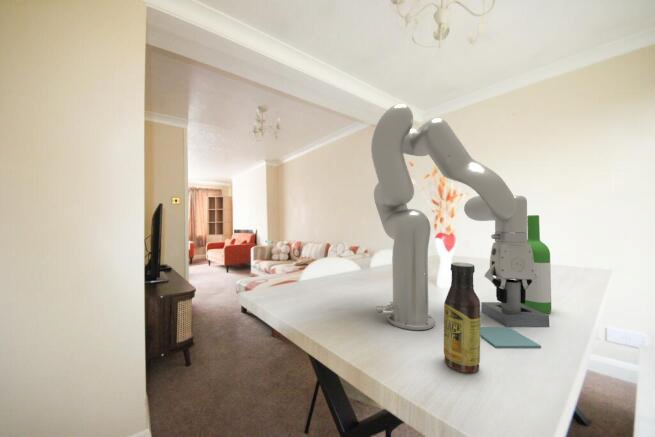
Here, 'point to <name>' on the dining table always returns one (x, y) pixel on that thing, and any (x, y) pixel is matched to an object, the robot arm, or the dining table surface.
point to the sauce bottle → (462, 321)
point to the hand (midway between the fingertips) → (510, 301)
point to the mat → (506, 338)
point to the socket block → (515, 315)
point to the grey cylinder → (512, 296)
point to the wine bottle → (539, 269)
